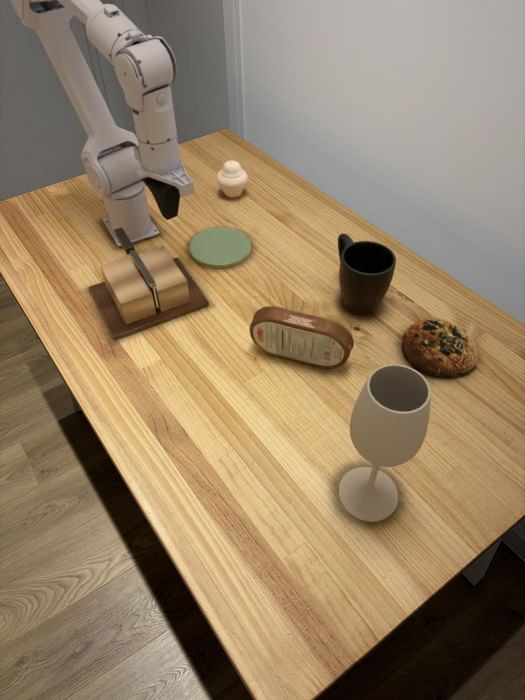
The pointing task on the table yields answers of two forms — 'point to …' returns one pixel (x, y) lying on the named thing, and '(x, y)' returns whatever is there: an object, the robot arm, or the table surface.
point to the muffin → (232, 179)
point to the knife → (137, 261)
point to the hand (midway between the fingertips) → (170, 216)
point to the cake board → (150, 321)
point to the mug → (364, 273)
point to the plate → (220, 247)
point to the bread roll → (439, 348)
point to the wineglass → (384, 438)
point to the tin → (301, 337)
